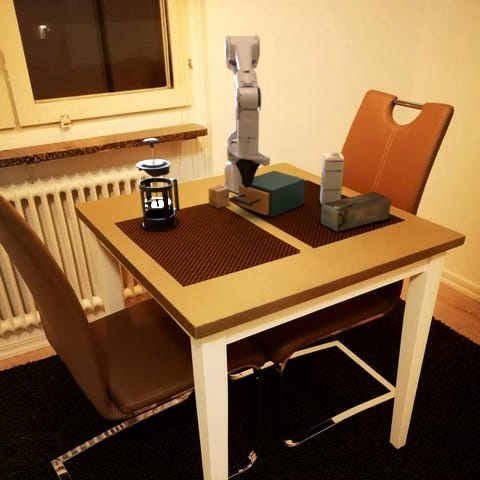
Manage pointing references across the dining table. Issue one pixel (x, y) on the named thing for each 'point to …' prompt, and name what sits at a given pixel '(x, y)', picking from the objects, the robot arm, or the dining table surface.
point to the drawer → (253, 199)
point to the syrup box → (331, 177)
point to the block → (218, 196)
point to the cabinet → (281, 190)
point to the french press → (157, 208)
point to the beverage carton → (355, 211)
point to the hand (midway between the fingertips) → (247, 186)
